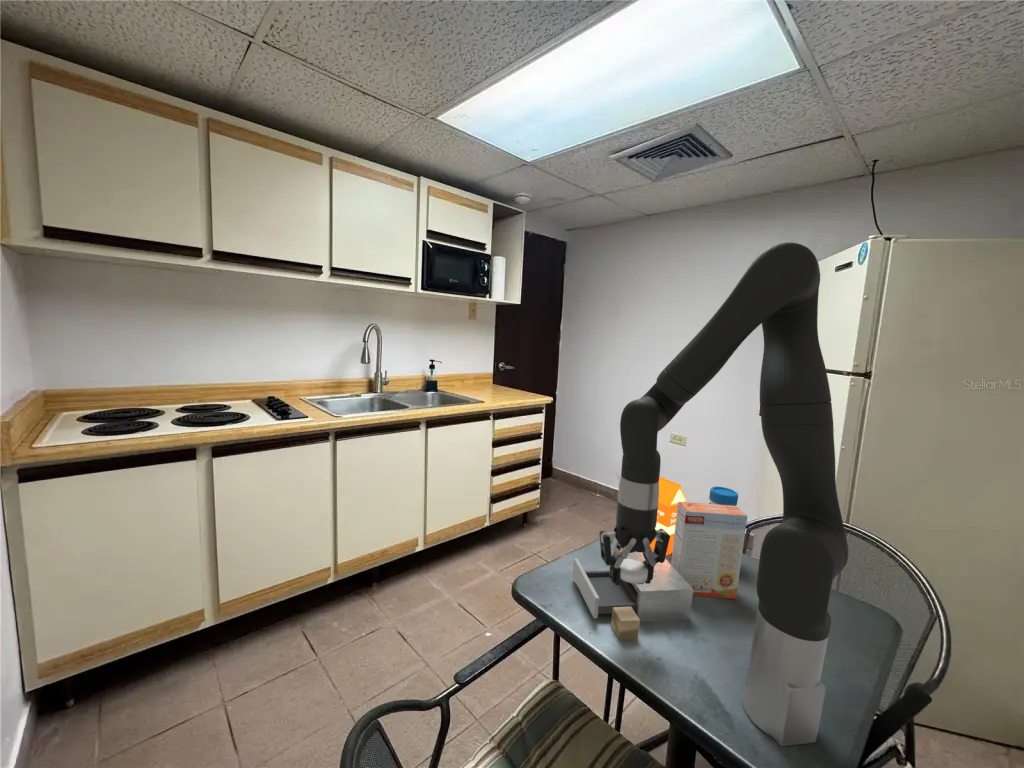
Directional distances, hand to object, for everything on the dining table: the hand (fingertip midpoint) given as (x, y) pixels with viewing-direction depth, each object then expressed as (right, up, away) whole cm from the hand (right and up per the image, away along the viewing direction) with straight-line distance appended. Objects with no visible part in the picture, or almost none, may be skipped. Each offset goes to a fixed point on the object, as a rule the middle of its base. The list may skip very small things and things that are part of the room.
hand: (630, 581), depth 81 cm
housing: (+8, -10, +14) cm, 18 cm away
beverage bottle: (+32, -9, +32) cm, 46 cm away
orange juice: (+19, -8, +37) cm, 43 cm away
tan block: (-1, -11, +2) cm, 11 cm away
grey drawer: (-2, -8, +12) cm, 15 cm away
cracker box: (+22, -11, +18) cm, 30 cm away
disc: (0, +2, 0) cm, 2 cm away
